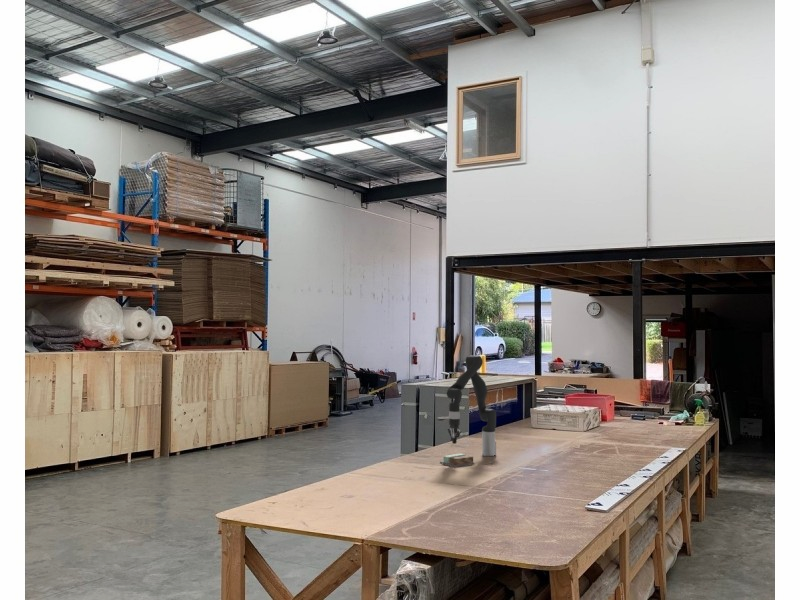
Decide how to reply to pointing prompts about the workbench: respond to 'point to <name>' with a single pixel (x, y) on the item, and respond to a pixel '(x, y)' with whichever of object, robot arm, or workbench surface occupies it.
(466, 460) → the walnut board
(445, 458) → the plank
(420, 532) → the workbench surface
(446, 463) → the base
